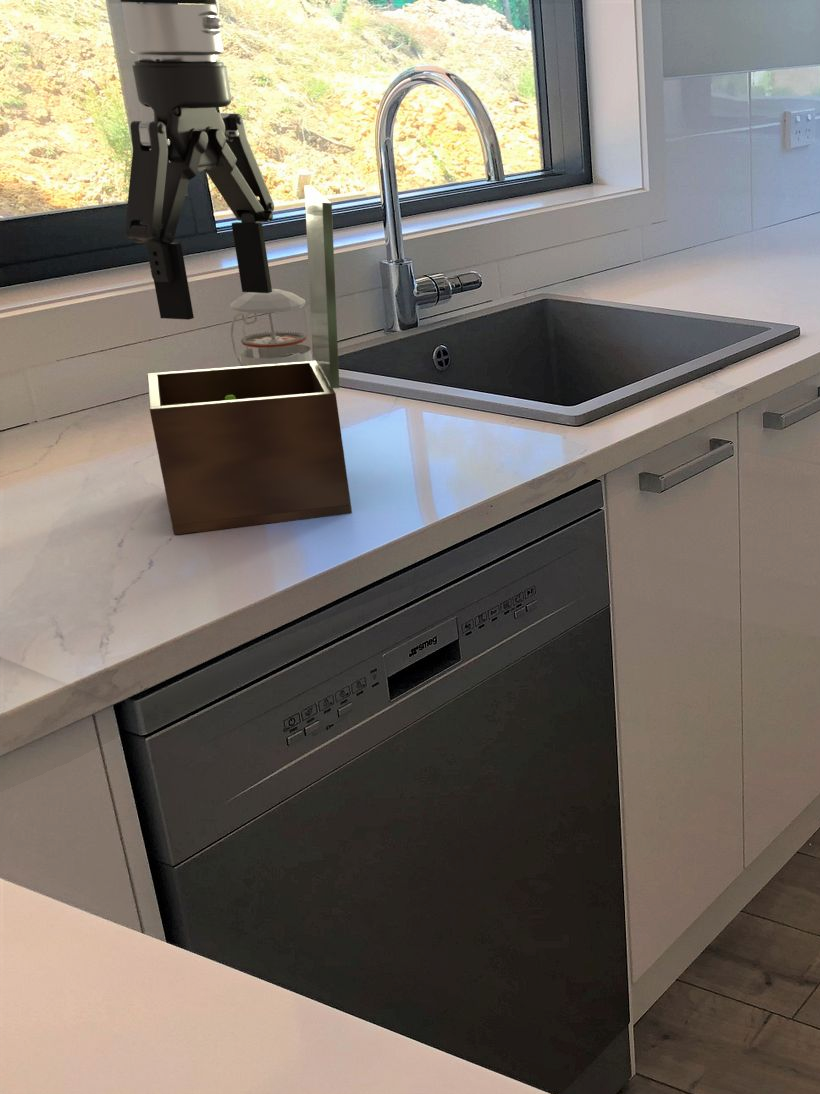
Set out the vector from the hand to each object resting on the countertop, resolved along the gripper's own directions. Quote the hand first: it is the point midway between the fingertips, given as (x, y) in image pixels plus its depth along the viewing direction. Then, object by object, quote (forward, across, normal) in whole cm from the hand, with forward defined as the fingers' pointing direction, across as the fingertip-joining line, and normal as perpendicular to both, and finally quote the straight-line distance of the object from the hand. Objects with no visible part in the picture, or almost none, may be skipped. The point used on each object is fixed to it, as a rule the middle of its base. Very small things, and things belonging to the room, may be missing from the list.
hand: (219, 304), depth 130 cm
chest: (+19, 0, 0) cm, 19 cm away
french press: (+20, +30, +13) cm, 38 cm away
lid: (-1, +5, -7) cm, 9 cm away
